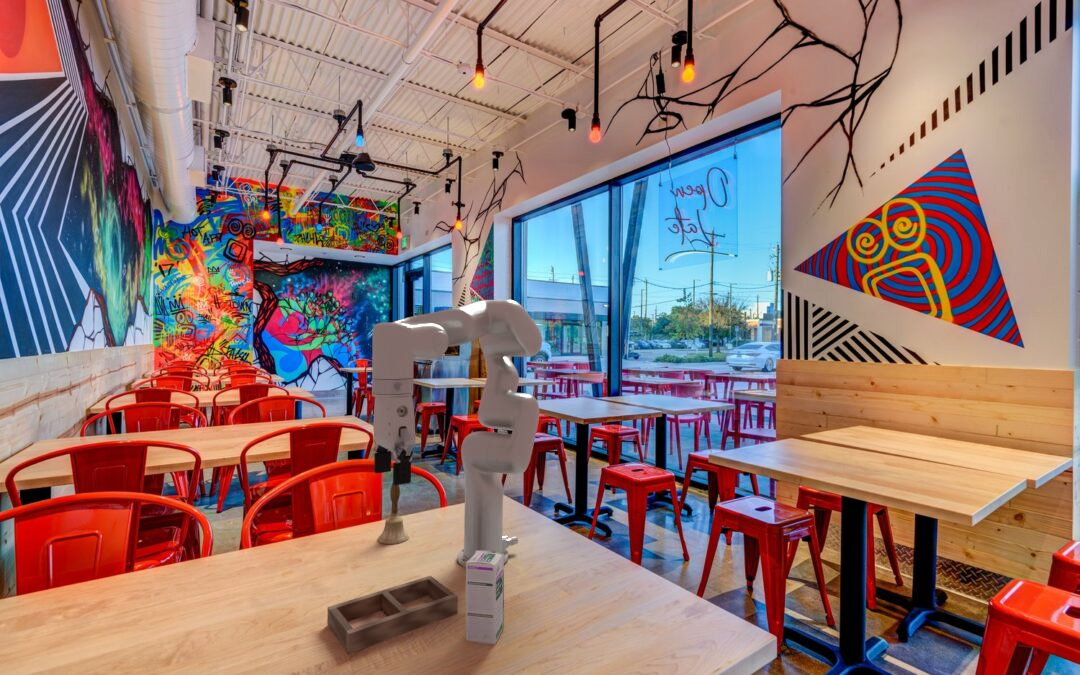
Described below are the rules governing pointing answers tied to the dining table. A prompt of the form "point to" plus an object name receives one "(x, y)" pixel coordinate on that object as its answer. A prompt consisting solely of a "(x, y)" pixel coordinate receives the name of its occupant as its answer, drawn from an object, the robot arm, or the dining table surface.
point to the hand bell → (394, 522)
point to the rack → (389, 613)
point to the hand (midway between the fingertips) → (391, 477)
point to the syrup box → (485, 597)
